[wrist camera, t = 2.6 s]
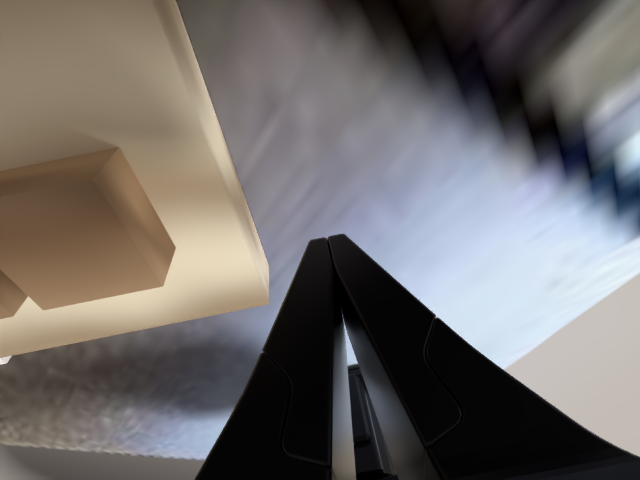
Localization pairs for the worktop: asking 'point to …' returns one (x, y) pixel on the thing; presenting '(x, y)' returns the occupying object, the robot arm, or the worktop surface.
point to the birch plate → (128, 155)
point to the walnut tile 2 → (80, 230)
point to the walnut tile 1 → (10, 297)
